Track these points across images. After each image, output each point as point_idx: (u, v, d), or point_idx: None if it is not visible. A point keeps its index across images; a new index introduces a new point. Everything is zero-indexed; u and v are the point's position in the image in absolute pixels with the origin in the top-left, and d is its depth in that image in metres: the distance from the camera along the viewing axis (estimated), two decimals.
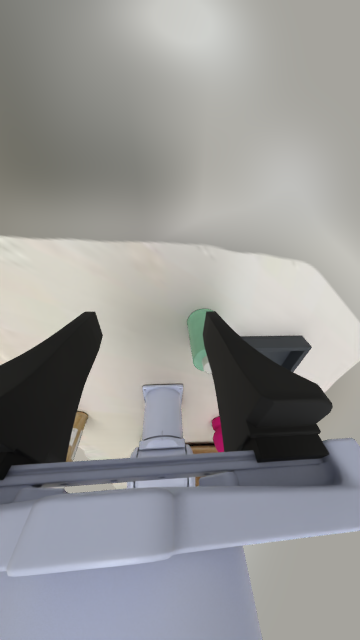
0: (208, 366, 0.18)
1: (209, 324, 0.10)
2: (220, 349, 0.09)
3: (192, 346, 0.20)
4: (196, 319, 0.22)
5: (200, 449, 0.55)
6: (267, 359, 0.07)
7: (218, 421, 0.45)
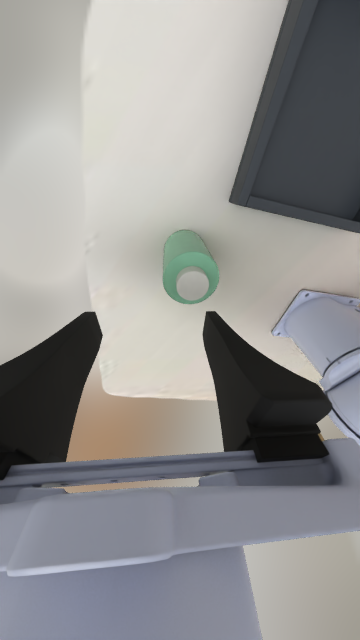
0: (187, 294, 0.13)
1: (209, 324, 0.10)
2: (220, 349, 0.09)
3: None
4: None
5: None
6: (267, 359, 0.07)
7: None
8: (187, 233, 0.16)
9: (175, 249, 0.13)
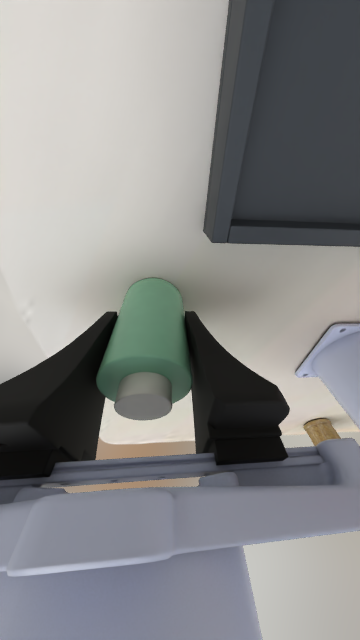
0: (140, 415, 0.08)
1: (186, 324, 0.10)
2: (193, 349, 0.09)
3: None
4: None
5: None
6: (234, 360, 0.07)
7: None
8: (147, 288, 0.11)
9: (115, 337, 0.08)
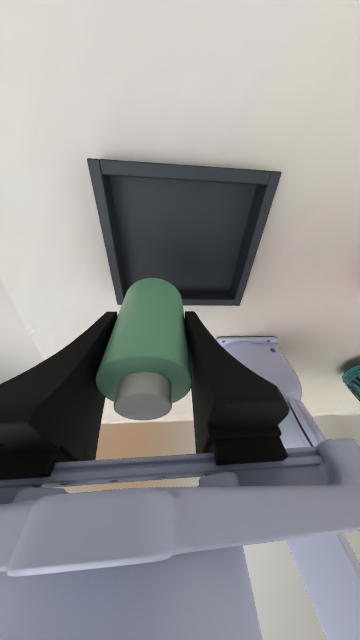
0: (139, 415, 0.08)
1: (186, 324, 0.10)
2: (193, 350, 0.09)
3: None
4: None
5: None
6: (234, 360, 0.07)
7: None
8: (146, 288, 0.11)
9: (114, 336, 0.08)
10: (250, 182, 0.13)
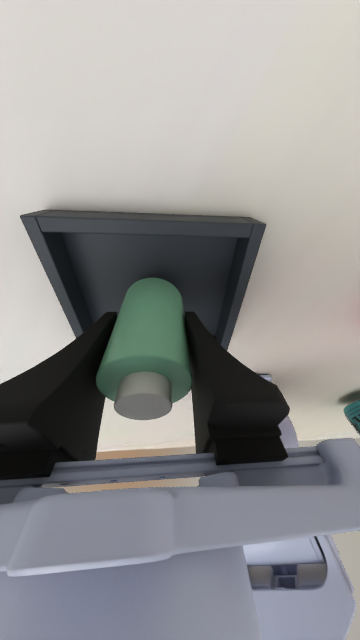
0: (139, 415, 0.08)
1: (186, 324, 0.10)
2: (193, 350, 0.09)
3: None
4: None
5: None
6: (234, 360, 0.07)
7: None
8: (147, 287, 0.11)
9: (114, 336, 0.08)
10: (228, 236, 0.10)
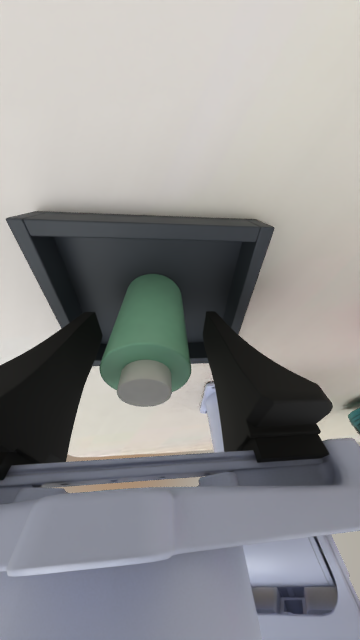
0: (141, 401, 0.08)
1: (209, 324, 0.10)
2: (220, 349, 0.09)
3: None
4: None
5: None
6: (267, 359, 0.07)
7: None
8: (147, 283, 0.11)
9: (117, 327, 0.09)
10: (233, 240, 0.10)
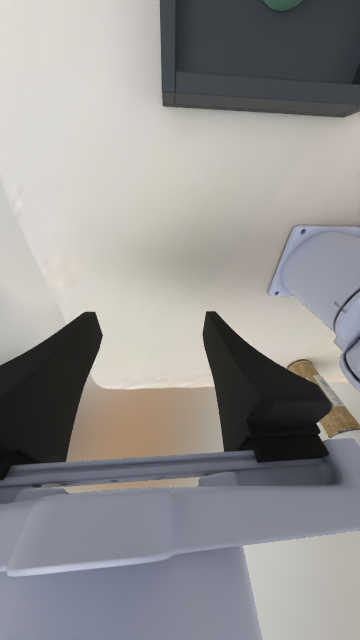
0: None
1: (209, 324, 0.10)
2: (220, 349, 0.09)
3: None
4: None
5: None
6: (267, 359, 0.07)
7: None
8: None
9: None
10: None
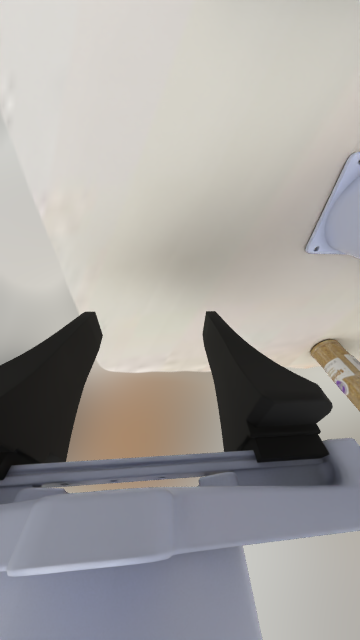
0: None
1: (209, 324, 0.10)
2: (220, 349, 0.09)
3: None
4: None
5: None
6: (267, 359, 0.07)
7: None
8: None
9: None
10: None
